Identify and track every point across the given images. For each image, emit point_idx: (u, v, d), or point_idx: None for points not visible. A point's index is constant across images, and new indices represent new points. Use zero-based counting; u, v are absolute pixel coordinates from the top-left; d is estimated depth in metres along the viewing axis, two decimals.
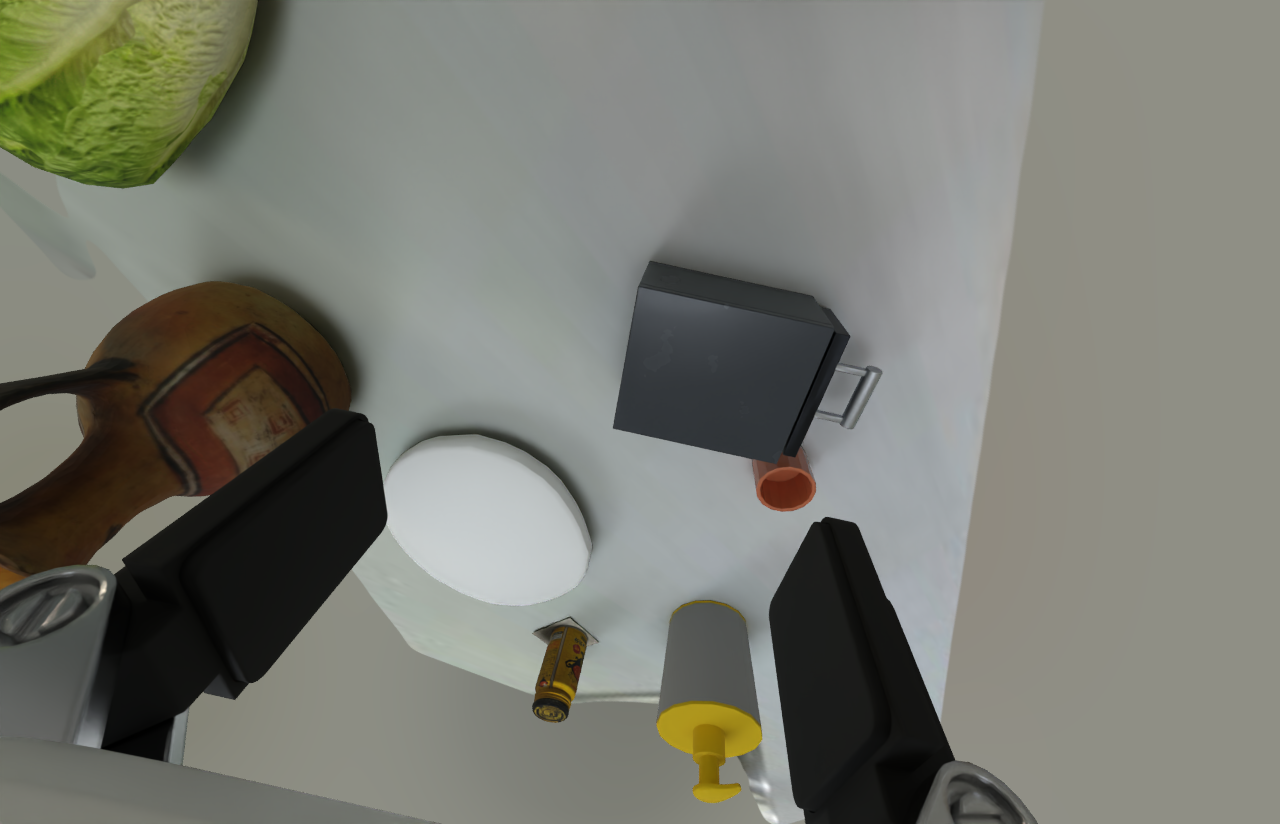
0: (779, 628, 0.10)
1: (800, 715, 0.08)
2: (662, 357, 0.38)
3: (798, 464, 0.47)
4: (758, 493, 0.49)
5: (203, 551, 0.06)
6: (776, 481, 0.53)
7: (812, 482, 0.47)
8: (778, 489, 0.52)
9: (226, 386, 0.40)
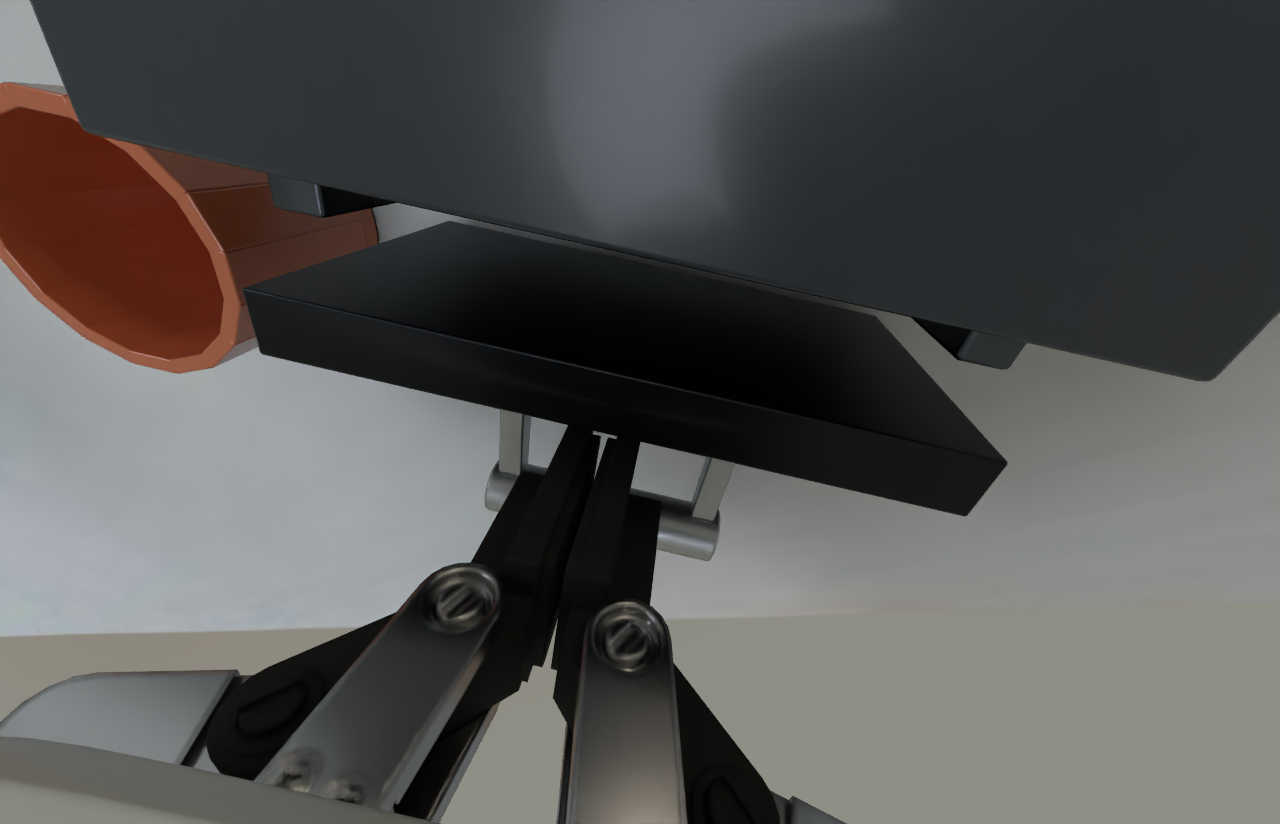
0: None
1: None
2: None
3: None
4: None
5: (550, 551, 0.07)
6: None
7: (207, 356, 0.11)
8: (151, 226, 0.13)
9: None
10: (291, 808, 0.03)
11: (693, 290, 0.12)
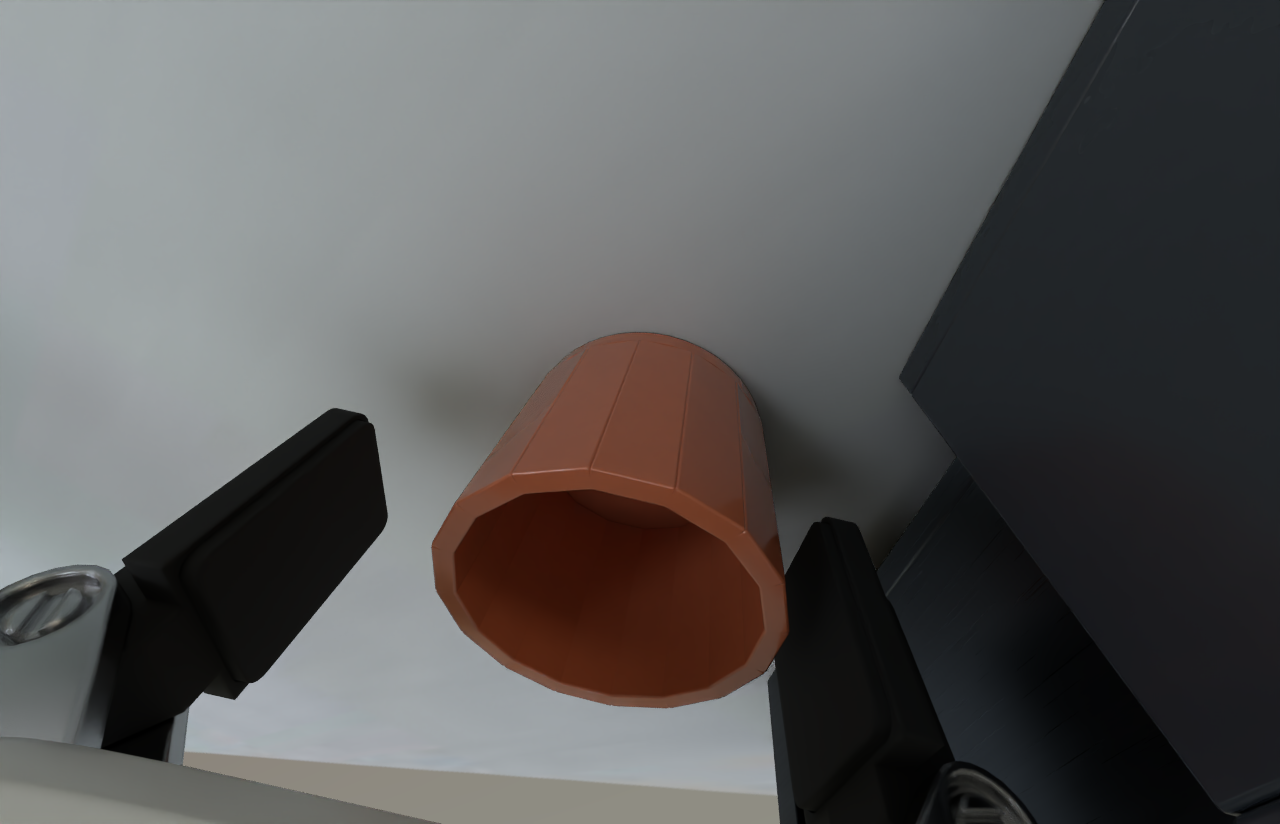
0: None
1: (800, 715, 0.08)
2: None
3: None
4: (541, 482, 0.06)
5: (203, 551, 0.06)
6: None
7: (671, 700, 0.09)
8: None
9: None
10: (291, 808, 0.03)
11: None
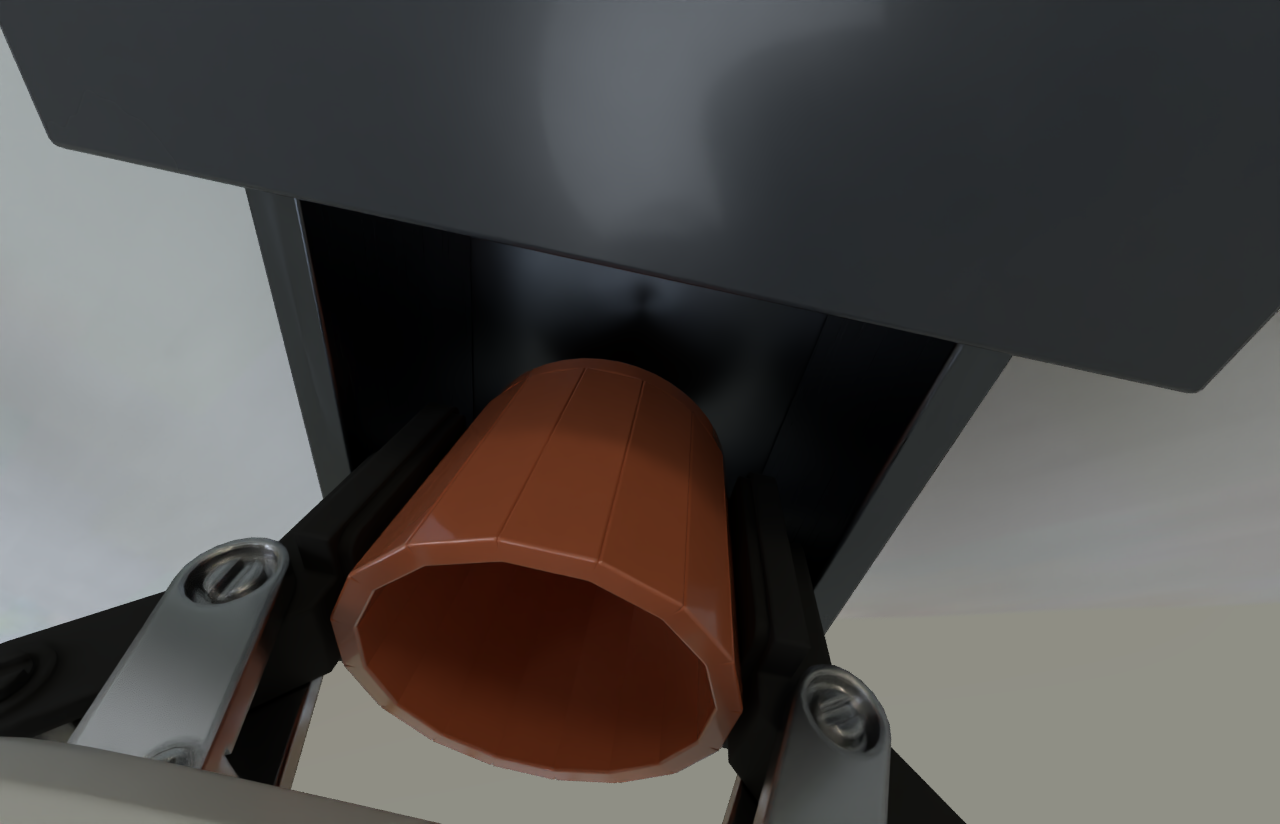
0: None
1: None
2: None
3: None
4: (442, 553, 0.05)
5: (355, 526, 0.07)
6: None
7: (620, 775, 0.08)
8: None
9: None
10: (290, 808, 0.03)
11: None
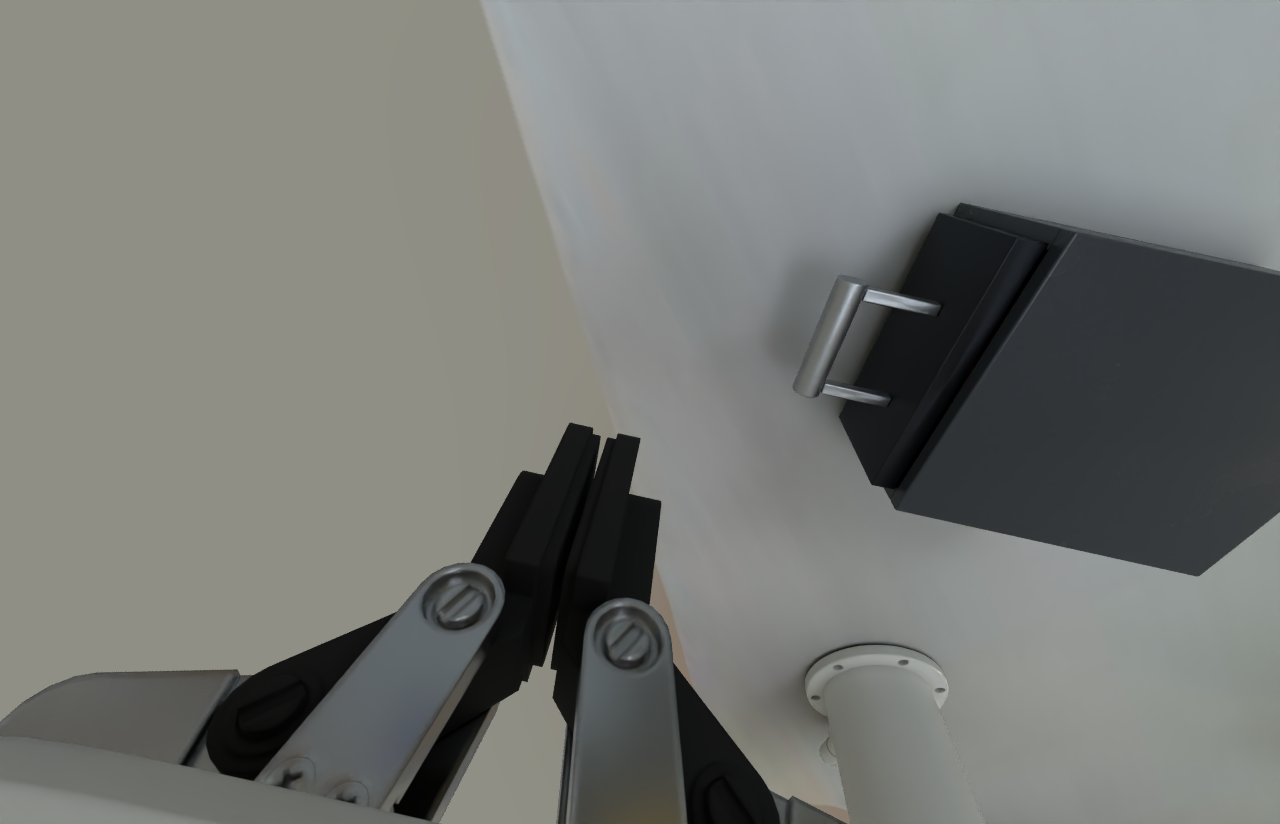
0: None
1: None
2: (1231, 482, 0.20)
3: None
4: None
5: (550, 551, 0.07)
6: None
7: None
8: None
9: None
10: (291, 808, 0.03)
11: None
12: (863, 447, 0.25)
